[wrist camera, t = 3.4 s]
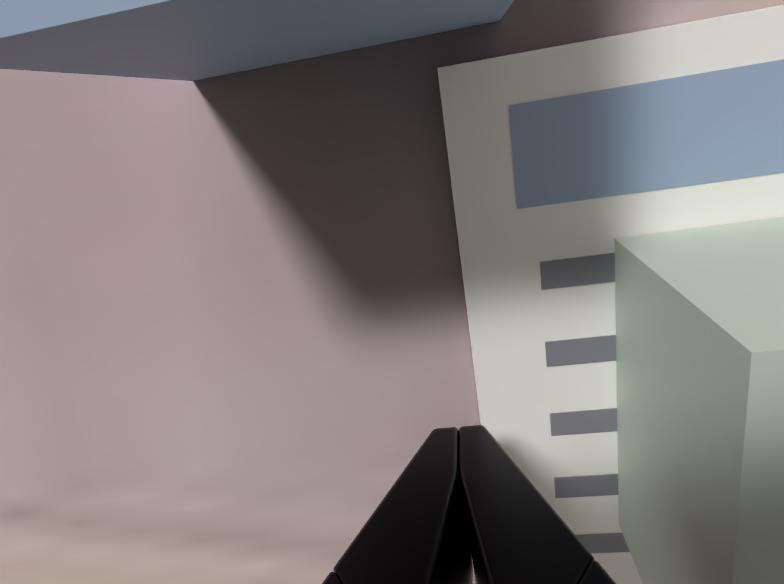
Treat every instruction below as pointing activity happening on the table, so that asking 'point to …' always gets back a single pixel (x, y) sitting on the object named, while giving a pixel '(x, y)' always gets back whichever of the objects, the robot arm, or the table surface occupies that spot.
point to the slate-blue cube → (213, 32)
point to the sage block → (702, 402)
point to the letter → (596, 222)
